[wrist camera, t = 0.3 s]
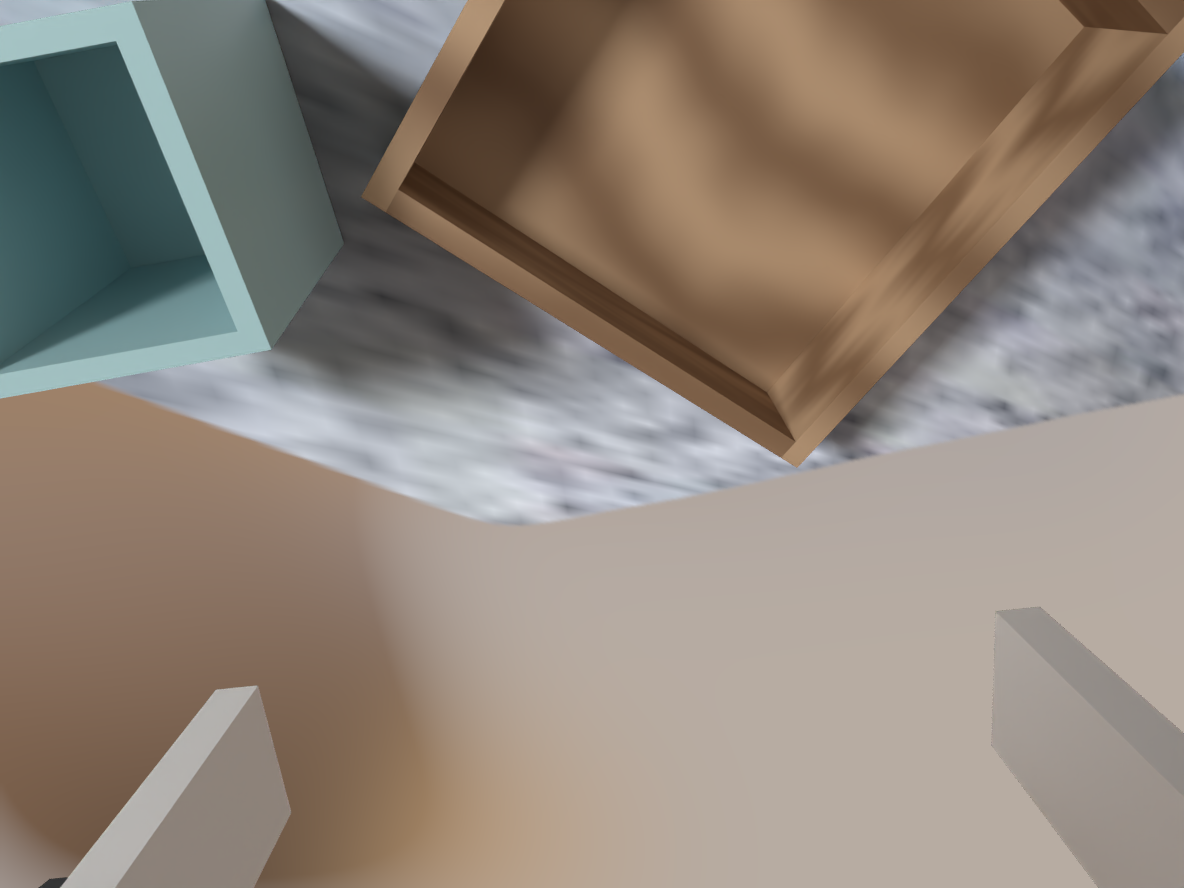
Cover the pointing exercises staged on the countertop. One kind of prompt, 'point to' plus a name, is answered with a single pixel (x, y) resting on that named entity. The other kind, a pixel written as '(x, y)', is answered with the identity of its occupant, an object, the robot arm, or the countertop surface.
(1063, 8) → the big walnut crate
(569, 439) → the countertop surface
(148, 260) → the small teal crate
